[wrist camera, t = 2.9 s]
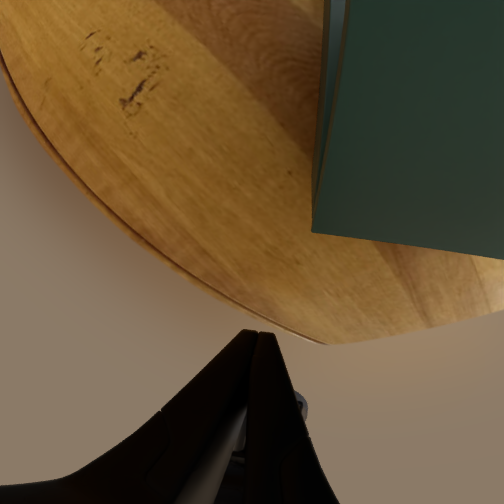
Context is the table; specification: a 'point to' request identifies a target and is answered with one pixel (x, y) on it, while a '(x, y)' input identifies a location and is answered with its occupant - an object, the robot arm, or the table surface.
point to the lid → (417, 127)
